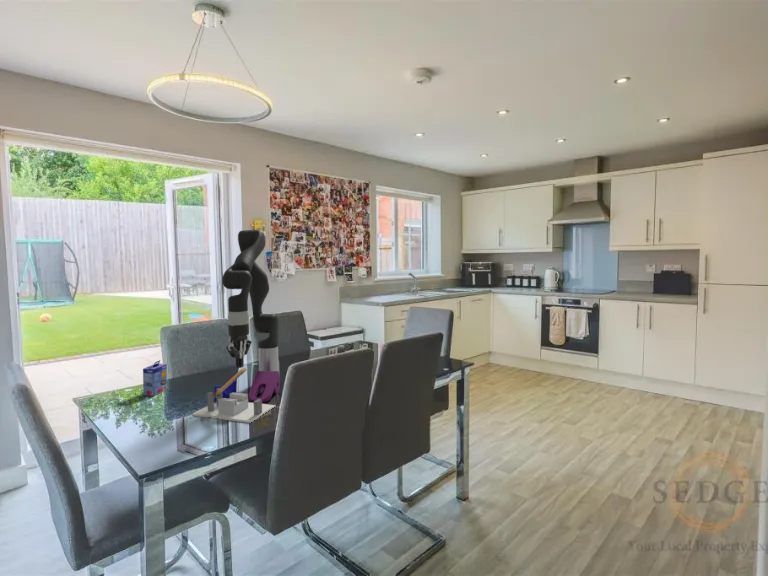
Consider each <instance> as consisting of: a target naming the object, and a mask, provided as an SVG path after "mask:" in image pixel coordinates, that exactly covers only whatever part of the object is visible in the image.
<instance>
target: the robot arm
mask: <svg viewBox="0 0 768 576" xmlns="http://www.w3.org/2000/svg"><path fill="white" fill-rule="evenodd" d="M237 242H238V246H239V251H240V253H239V254H238V255H237V256H236V257H235V260H234V263H233V264H232V265H231V266H230V267H228V268H227V269H226V270H225V271H224V273H223V275H222V278H221V281H222V285H223V287H224V288H225V289H227V290H241V291H240V292H239V294H235V295H231V296H229V297H228V299H227V301H228V303H227V304H228V305H227V307H228V308H227V309H228V315H227V329H228V332H227V333H228V336H229V337H230V341H229V343H230V344H229V345H227V346H226V347H225V349H226V350H227V352H228V354H229V355H230V357H231V358H234V359H235V366H236V368H239V369H241V368H243V367H244V366H245V365H244V364H245V363H244V358H245V356H246V355H248V353H249V350H250V347H251V345H252V340H249V339H248V335H249V334H250V317H249V306H248V303H249V300H248V299H249V298H250V302H251V310H252V319H253V320H252V321H253V326H254V329H255V332H256V333H259V334H269V335H268V337H266V338H264V339H261V340H259V341H258V344H257V349H258V371H279V372H280V361H279V323H280V321H279V316H278V314H275V313H263V310H262V309H263V308H262V307H263V304H264V301H266V300H265V299H266V298H267V297H268V295H269V292H270V284H269V278H268V275H267V274H266V272H265V271H264V270H263V268H262V267H261V266H260V265H259V264H258V263H257V261H256V260H257V258H258V257H260V255H261V254H262V252H263V251H264V249H265V247H266V242H267V241H266V236H265V233H264V231H263V230H261V229H245V230H240V231H239V232H238V234H237Z"/></svg>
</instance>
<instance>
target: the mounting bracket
mask: <svg viewBox="0 0 768 576" xmlns="http://www.w3.org/2000/svg"><path fill="white" fill-rule="evenodd" d="M280 388H281V377H280V370H279V371H259V370H258V371H257V373H256V375H255V377H254V379H253V382H252V384H251V386H250V389H249V391H248V400H249V401H250V402H251V403H254V401H256V400H257V399H262V404H264V403H263V402H265V403H267V402H268V401H270V400H271V398H272V396H273V395H277V394H278V393H280ZM263 391H264V392H263ZM262 392H263V393H262ZM261 393H262V394H261ZM273 393H275V394H273ZM258 395H261V396H260V397H258Z"/></svg>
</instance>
